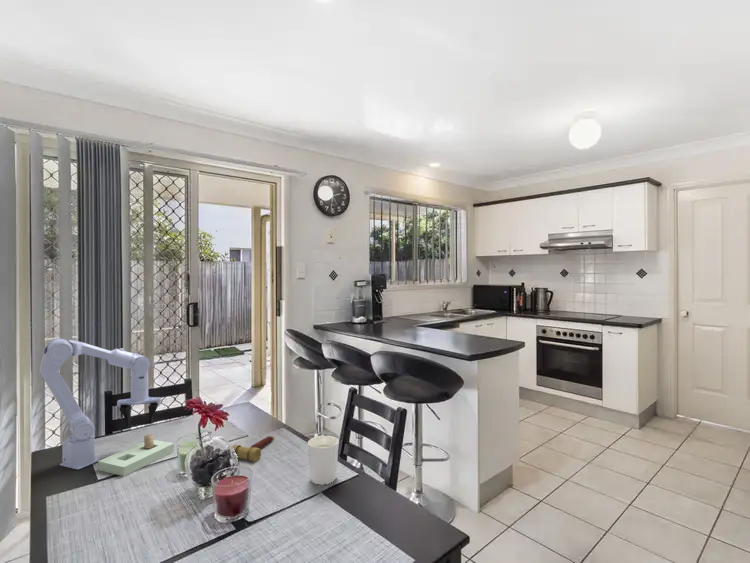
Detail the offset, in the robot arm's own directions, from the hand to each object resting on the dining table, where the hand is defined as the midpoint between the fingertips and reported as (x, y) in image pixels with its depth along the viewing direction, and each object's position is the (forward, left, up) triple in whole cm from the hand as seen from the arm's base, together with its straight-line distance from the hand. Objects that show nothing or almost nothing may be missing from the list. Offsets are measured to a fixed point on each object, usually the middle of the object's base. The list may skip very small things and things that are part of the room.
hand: (139, 423), depth 154 cm
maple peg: (+8, -3, -9) cm, 13 cm away
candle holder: (+75, +4, -10) cm, 76 cm away
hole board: (+8, -8, -9) cm, 14 cm away
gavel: (+42, +15, -10) cm, 46 cm away
